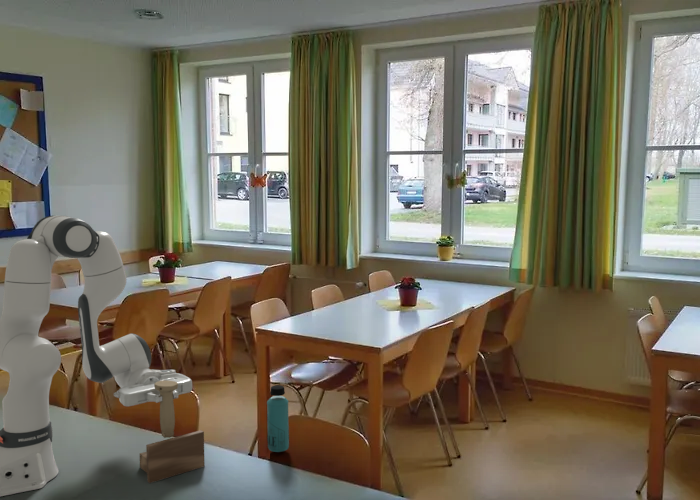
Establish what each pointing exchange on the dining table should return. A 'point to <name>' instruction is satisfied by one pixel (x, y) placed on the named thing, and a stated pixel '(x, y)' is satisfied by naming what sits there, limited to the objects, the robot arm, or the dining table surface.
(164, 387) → the handle
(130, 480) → the dining table surface
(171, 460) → the wooden drawer
